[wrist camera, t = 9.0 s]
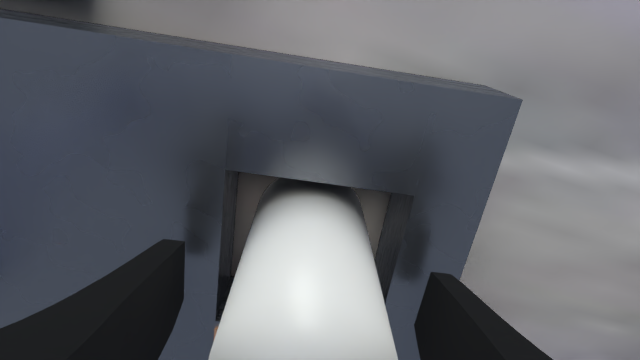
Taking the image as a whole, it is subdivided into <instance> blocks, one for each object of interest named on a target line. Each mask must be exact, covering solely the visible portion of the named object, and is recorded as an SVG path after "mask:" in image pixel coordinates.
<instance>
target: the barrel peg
mask: <svg viewBox="0 0 640 360" xmlns="http://www.w3.org/2000/svg"><path fill="white" fill-rule="evenodd" d="M208 360H398V357H397V353H396V349H395V344H394V340H393V336H392V332H391V328H390V324H389V319H388V315H387V311H386V307H385V303H384V298H383V294H382V290H381V286H380V282H379V278H378V273H377V269H376V265H375V261H374V257H373V253H372V248H371V244H370V240H369V236H368V232H367V228H366V223H365V219H364V215H363V211H362V207H361V203H360V201H359V198H358V196H357V194H356V193H355V191H354V190H353V189H352V188H351V187H348V186H340V185H333V184H326V183H319V182H311V181H304V180H297V179H290V178H282V177H279V178H278V179H276V180H275V181H274V182H273V183H271V184H270V185H269V186H268V188H267V189H266V190H265V191H264V193H263V195H262V197H261V199H260V201H259V204H258V207H257V210H256V213H255V216H254V219H253V222H252V225H251V228H250V231H249V235H248V238H247V241H246V244H245V247H244V250H243V253H242V256H241V259H240V262H239V265H238V268H237V271H236V274H235V277H234V281H233V284H232V287H231V290H230V293H229V296H228V299H227V302H226V305H225V308H224V311H223V314H222V317H221V320H220V324H219V327H218V330H217V333H216V336H215V339H214V342H213V345H212V348H211V351H210V355H209V359H208Z"/></svg>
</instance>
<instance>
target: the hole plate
mask: <svg viewBox="0 0 640 360" xmlns="http://www.w3.org/2000/svg"><path fill="white" fill-rule="evenodd" d="M521 103H522V99H519V98H516V97H514V96H511V95H509V94H506V93H503V92H501V91H498V90H495V89H493V88H490V87H487V86H484V85H478V84H472V83H465V82H459V81H453V80H446V79H440V78H434V77H428V76H421V75H415V74H409V73H402V72H396V71H390V70H384V69H377V68H371V67H365V66H358V65H352V64H346V63H340V62H333V61H327V60H321V59H314V58H308V57H302V56H295V55H289V54H283V53H277V52H270V51H264V50H258V49H251V48H245V47H239V46H233V45H226V44H220V43H214V42H207V41H201V40H195V39H189V38H182V37H176V36H170V35H163V34H157V33H151V32H145V31H138V30H132V29H126V28H119V27H113V26H107V25H101V24H94V23H88V22H82V21H75V20H69V19H63V18H56V17H50V16H44V15H38V14H31V13H25V12H19V11H12V10H6V9H0V328H3V327H5V326H8V325H10V324H12V323H15V322H17V321H19V320H22V319H24V318H26V317H28V316H30V315H33V314H35V313H37V312H39V311H41V310H43V309H45V308H47V307H49V306H51V305H53V304H55V303H57V302H59V301H61V300H63V299H65V298H67V297H69V296H71V295H73V294H74V293H76V292H78V291H80V290H81V289H83V288H85V287H87V286H88V285H90V284H92V283H94V282H95V281H97V280H99V279H101V278H102V277H104V276H106V275H108V274H109V273H111V272H112V271H114V270H115V269H117V268H119V267H120V266H122V265H123V264H125V263H127V262H128V261H130V260H131V259H133V258H134V257H136V256H137V255H139V254H140V253H142V252H143V251H145V250H147V249H148V248H150V247H151V246H153V245H154V244H156V243H157V242H159V241H161V240H162V239H170V240H178V241H185V272H184V300H183V303H182V306H181V309H180V312H179V314H178V317H177V320H176V323H175V325H174V328H173V331H172V333H171V335H170V337H169V339H168V341H167V343H166V345H165V347H164V349H163V351H162V353H161V355H160V357H159V359H158V360H208V359H209V355H210V351H211V348H212V345H213V342H214V339H215V336H216V333H217V330H218V327H219V324H220V320H221V317H222V314H223V311H224V308H225V305H226V302H227V299H228V296H229V293H230V290H231V287H232V284H233V281H234V277H232V276H231V263H232V250H233V237H234V225H235V212H236V199H237V186H238V173H239V172H246V173H253V174H260V175H268V176H275V177H282V178H290V179H297V180H304V181H311V182H319V183H326V184H333V185H340V186H348V187H355V188H362V189H370V190H377V191H384V192H391V197H390V201H389V205H388V209H387V213H386V217H385V221H384V225H383V229H382V233H381V237H380V241H379V246H378V250H377V254H376V258H375V265H376V269H377V273H378V278H379V282H380V286H381V290H382V294H383V298H384V303H385V307H386V311H387V315H388V319H389V324H390V328H391V332H392V336H393V340H394V344H395V349H396V353H397V357H398V360H420V355H419V350H418V345H417V340H416V334H415V328H414V324H415V320H416V317H417V314H418V311H419V308H420V304H421V301H422V298H423V295H424V292H425V289H426V285H427V282H428V279H429V276H430V273H431V272H438V273H446V274H451V275H453V276H454V277H455V278H457V279H458V280H460V277H461V274H462V271H463V268H464V265H465V263H466V260H467V257H468V254H469V251H470V248H471V245H472V243H473V240H474V237H475V234H476V231H477V228H478V226H479V223H480V220H481V217H482V214H483V211H484V208H485V206H486V203H487V200H488V197H489V194H490V191H491V189H492V186H493V183H494V180H495V177H496V174H497V171H498V169H499V166H500V163H501V160H502V157H503V154H504V152H505V149H506V146H507V143H508V140H509V137H510V134H511V132H512V129H513V126H514V123H515V120H516V117H517V115H518V112H519V109H520V106H521Z"/></svg>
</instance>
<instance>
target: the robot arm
mask: <svg viewBox="0 0 640 360" xmlns="http://www.w3.org/2000/svg"><path fill="white" fill-rule="evenodd" d="M184 272H185V241H178V240H170V239H162V240H161V241H159V242H157V243H156V244H154V245H153V246H151V247H150V248H148V249H147V250H145V251H143V252H142V253H140V254H139V255H137V256H136V257H134V258H133V259H131V260H130V261H128V262H127V263H125V264H123V265H122V266H120V267H119V268H117V269H115V270H114V271H112V272H111V273H109V274H108V275H106V276H104V277H102V278H101V279H99V280H97V281H95V282H94V283H92V284H90V285H88V286H87V287H85V288H83V289H81V290H80V291H78V292H76V293H74V294H73V295H71V296H69V297H67V298H65V299H63V300H61V301H59V302H57V303H55V304H53V305H51V306H49V307H47V308H45V309H43V310H41V311H39V312H37V313H35V314H33V315H30V316H28V317H26V318H24V319H22V320H19V321H17V322H15V323H12V324H10V325H8V326H5V327H3V328H0V360H158V359H159V357H160V355H161V353H162V351H163V349H164V347H165V345H166V343H167V341H168V339H169V337H170V335H171V333H172V331H173V328H174V325H175V323H176V320H177V317H178V314H179V312H180V309H181V306H182V303H183V300H184ZM414 328H415V334H416V340H417V345H418V350H419V355H420V360H553V359H552V358H550V357H549V356H548V355H546V354H545V353H544V352H542V351H541V350H540V349H538V348H537V347H536V346H535V345H533V344H532V343H531V342H530V341H528V340H527V339H526V338H525V337H523V336H522V335H521V334H520V333H519V332H517V331H516V330H515V329H514V328H513V327H511V326H510V325H509V324H508V323H507V322H506V321H504V320H503V319H502V318H501V317H500V316H499V315H497V314H496V313H495V312H494V311H493V310H492V309H491V308H490V307H488V306H487V305H486V304H485V303H484V302H483V301H482V300H481V299H479V298H478V297H477V296H476V295H475V294H474V293H473V292H472V291H471V290H469V289H468V288H467V287H466V286H465V285H464V284H463V283H461V282H460V281H459V280H458V279H457V278H455V277H454V276H453V275H451V274H446V273H438V272H431V273H430V276H429V279H428V282H427V285H426V289H425V292H424V295H423V298H422V301H421V304H420V308H419V311H418V314H417V317H416V320H415V324H414Z"/></svg>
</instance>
